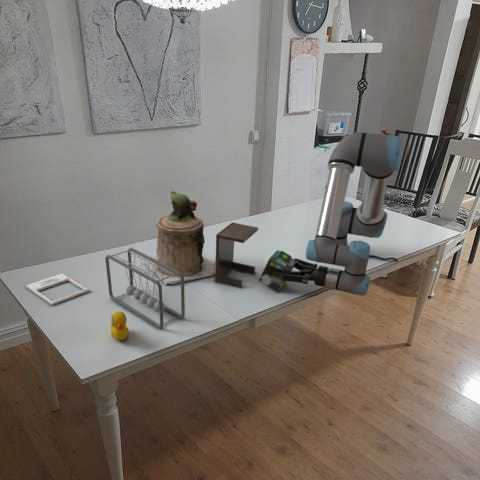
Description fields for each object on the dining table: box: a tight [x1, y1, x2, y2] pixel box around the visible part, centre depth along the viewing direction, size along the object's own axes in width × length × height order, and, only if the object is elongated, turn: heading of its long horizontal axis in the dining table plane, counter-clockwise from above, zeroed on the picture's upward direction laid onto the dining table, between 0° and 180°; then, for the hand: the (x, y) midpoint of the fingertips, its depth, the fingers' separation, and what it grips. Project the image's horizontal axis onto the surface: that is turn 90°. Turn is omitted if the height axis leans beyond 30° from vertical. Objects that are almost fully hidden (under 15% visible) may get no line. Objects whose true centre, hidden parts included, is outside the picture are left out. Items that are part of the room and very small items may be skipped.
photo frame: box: [26, 273, 89, 306], centre depth 174 cm, size 15×1×18 cm
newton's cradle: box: [104, 247, 186, 329], centre depth 161 cm, size 30×10×18 cm, turn 48°
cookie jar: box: [143, 190, 216, 286], centre depth 186 cm, size 25×25×32 cm
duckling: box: [110, 311, 130, 341], centre depth 147 cm, size 11×5×10 cm, turn 20°
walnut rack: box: [214, 222, 259, 289], centre depth 185 cm, size 11×15×20 cm
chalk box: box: [258, 250, 298, 293], centre depth 180 cm, size 9×9×15 cm
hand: (270, 264), depth 181 cm, fingers closed on chalk box, 9 cm apart
